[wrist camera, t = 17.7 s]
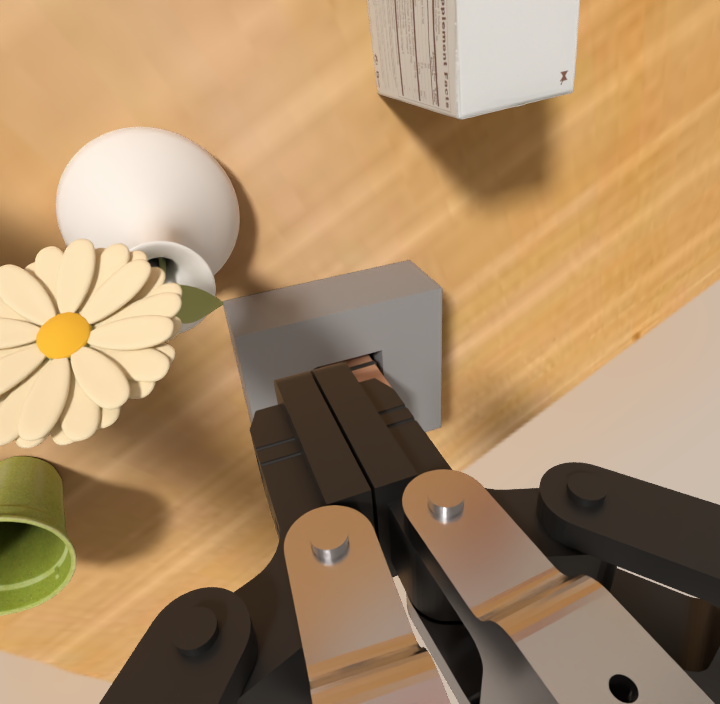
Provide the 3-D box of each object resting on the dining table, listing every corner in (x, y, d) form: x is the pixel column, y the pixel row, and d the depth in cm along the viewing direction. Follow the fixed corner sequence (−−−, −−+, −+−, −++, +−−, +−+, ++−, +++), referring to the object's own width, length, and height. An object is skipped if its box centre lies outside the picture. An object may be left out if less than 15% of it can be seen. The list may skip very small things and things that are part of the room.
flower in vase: (240, 134, 37) (374, 269, 17) (231, 289, 43) (324, 530, 23) (18, 106, 32) (-154, 249, 12) (38, 285, 38) (-61, 589, 18)
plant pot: (-68, 516, 43) (-105, 611, 36) (-29, 424, 41) (-60, 508, 34) (59, 534, 48) (48, 621, 41) (101, 453, 46) (97, 531, 39)
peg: (313, 383, 49) (350, 456, 41) (306, 344, 46) (344, 412, 38) (358, 370, 50) (402, 438, 42) (353, 331, 47) (399, 395, 39)
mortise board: (254, 436, 50) (267, 480, 46) (222, 301, 43) (234, 337, 38) (413, 391, 55) (440, 427, 50) (409, 259, 47) (442, 287, 42)
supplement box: (462, -45, 37) (591, -68, 27) (465, 77, 41) (577, 97, 31) (360, -29, 35) (454, -47, 25) (373, 96, 39) (459, 124, 29)
